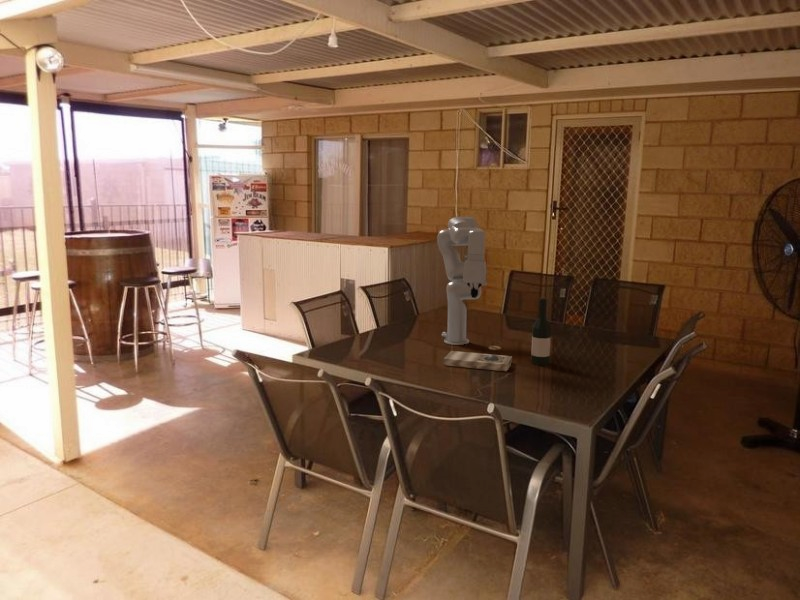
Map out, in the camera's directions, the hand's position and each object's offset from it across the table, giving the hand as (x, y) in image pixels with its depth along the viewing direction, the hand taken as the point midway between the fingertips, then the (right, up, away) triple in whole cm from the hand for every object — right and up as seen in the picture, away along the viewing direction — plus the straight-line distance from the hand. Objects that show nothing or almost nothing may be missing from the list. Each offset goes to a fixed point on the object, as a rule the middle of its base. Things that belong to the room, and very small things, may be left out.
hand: (474, 297), depth 277 cm
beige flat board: (+1, -30, -7) cm, 31 cm away
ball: (+7, -28, -9) cm, 30 cm away
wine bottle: (+29, -30, -5) cm, 42 cm away
